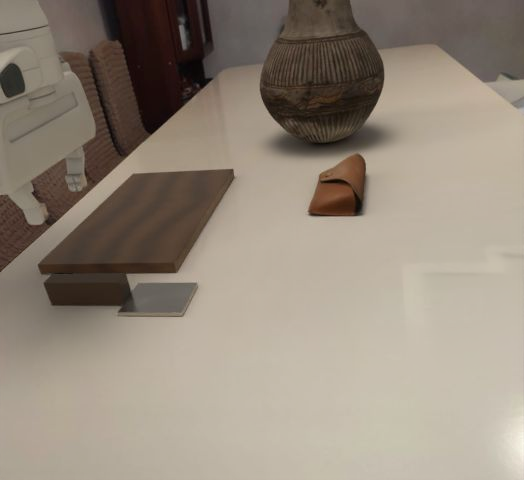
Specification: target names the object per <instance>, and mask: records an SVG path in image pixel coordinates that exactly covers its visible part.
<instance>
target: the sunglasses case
mask: <svg viewBox="0 0 524 480" xmlns="http://www.w3.org/2000/svg"><path fill="white" fill-rule="evenodd" d="M366 174H367V163H366V160H365V158H364V157H363V155H361V154H360V153H359V152H357V153H354V154H351V155H349V156H348V157H346V158H344V159H342V160H341V161H340V162H338V163H337V164H336V165H334V166H333V167H331V168H328V169H326V170H324V171H322V172H321V173H319V175H318V180H317V184H316V187H315V190H314V193H313V196H312V198H311V201H310V203H309V206H308V209H307V213H309V214H312V215H318V216H327V217H355V216H356V215H358V214H359V213H360V212H361V211H362V209H363V205H364V195H365V183H366Z"/></svg>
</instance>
